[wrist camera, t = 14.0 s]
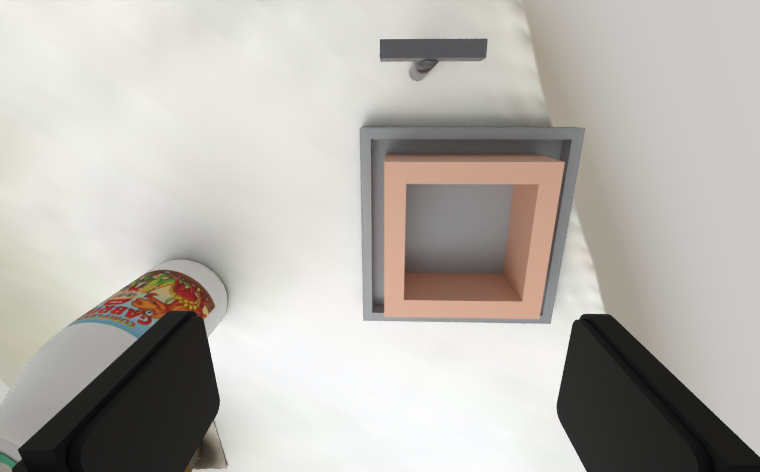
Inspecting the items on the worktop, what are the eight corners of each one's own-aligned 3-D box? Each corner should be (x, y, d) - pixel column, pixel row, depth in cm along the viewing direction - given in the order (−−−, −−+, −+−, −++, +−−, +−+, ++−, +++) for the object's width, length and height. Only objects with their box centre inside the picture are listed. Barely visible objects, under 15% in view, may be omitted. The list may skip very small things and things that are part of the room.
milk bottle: (243, 316, 35) (72, 555, 16) (174, 337, 36) (-61, 584, 17) (206, 246, 33) (-42, 429, 14) (134, 270, 34) (-189, 471, 15)
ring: (385, 153, 29) (384, 161, 24) (536, 153, 29) (564, 162, 24) (385, 287, 33) (384, 316, 28) (518, 289, 33) (539, 319, 28)
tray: (362, 126, 29) (359, 128, 27) (572, 127, 29) (585, 128, 27) (364, 308, 35) (363, 320, 33) (541, 311, 34) (550, 323, 32)
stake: (384, 63, 28) (380, 34, 17) (450, 63, 27) (488, 33, 17) (384, 80, 28) (380, 62, 17) (449, 80, 28) (485, 62, 17)
